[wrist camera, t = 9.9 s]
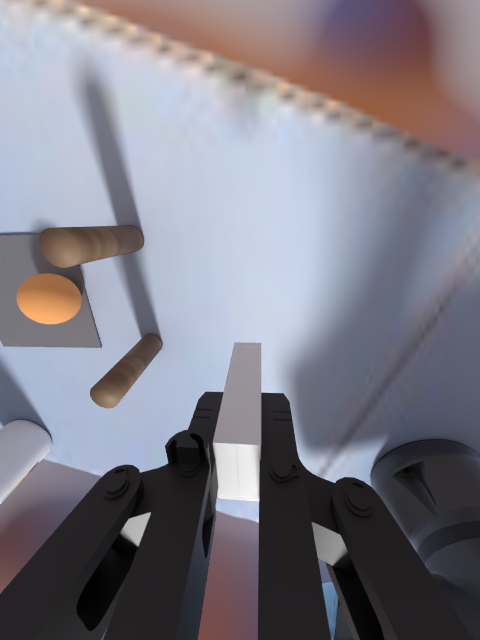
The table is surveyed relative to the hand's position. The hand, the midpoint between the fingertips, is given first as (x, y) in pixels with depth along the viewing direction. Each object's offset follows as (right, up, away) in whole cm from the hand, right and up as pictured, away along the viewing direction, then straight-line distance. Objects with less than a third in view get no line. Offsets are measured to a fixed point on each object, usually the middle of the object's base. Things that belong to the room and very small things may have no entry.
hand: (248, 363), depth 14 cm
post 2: (-12, 0, +16) cm, 20 cm away
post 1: (-12, +11, +11) cm, 20 cm away
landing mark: (-26, +5, +15) cm, 30 cm away
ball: (-21, +5, +12) cm, 25 cm away
